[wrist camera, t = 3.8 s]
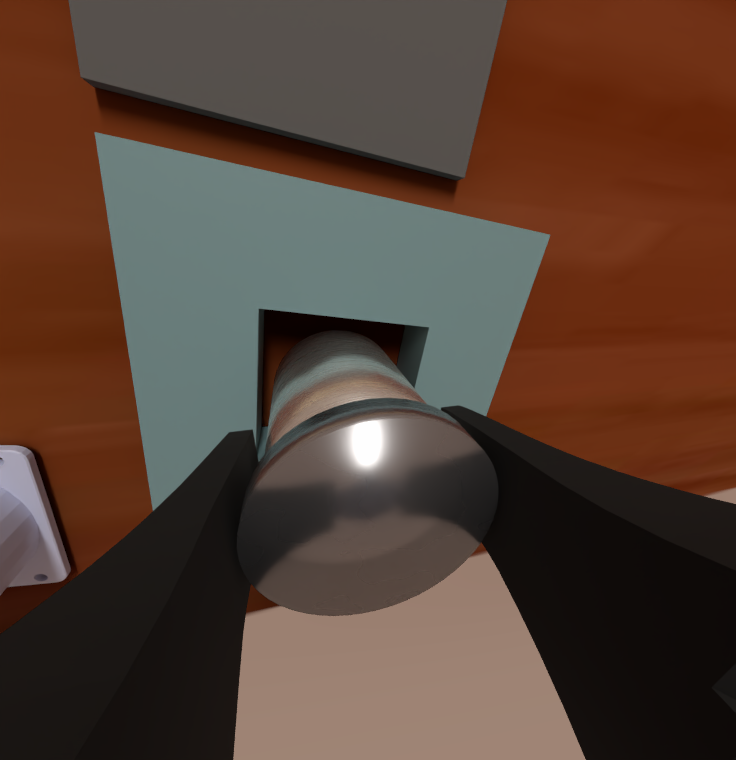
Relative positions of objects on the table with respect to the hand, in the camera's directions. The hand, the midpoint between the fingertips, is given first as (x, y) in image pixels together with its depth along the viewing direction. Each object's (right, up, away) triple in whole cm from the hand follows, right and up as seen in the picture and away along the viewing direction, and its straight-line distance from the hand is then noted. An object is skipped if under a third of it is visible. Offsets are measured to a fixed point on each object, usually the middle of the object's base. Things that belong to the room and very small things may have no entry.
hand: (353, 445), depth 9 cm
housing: (-1, +2, +5) cm, 6 cm away
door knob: (-1, +2, +3) cm, 4 cm away
